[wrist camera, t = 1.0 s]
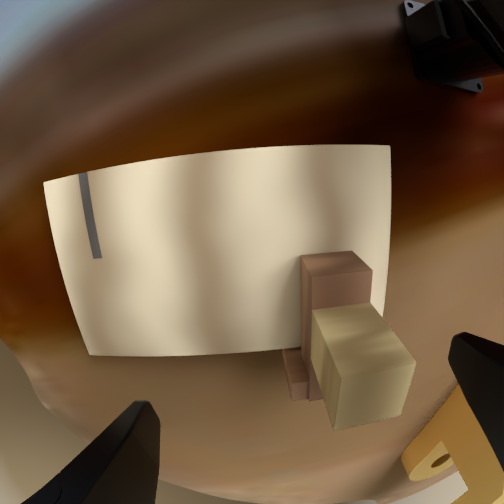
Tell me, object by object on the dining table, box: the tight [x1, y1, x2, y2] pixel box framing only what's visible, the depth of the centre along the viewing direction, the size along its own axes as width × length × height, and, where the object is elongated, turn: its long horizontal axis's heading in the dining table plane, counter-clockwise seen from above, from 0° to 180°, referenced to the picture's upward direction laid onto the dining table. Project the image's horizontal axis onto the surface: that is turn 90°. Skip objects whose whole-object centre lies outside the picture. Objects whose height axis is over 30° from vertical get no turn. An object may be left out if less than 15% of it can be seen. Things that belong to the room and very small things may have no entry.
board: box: [44, 145, 391, 356], centre depth 18 cm, size 20×12×2 cm, turn 94°
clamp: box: [401, 384, 504, 504], centre depth 19 cm, size 20×9×16 cm, turn 162°
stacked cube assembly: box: [282, 251, 416, 431], centre depth 15 cm, size 5×8×10 cm, turn 4°
